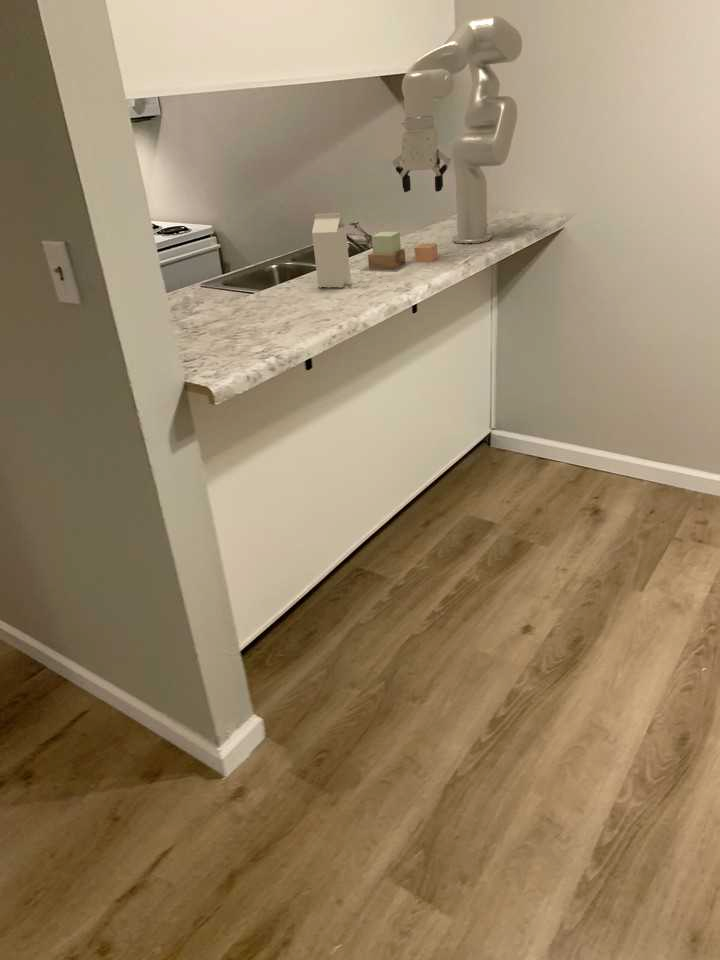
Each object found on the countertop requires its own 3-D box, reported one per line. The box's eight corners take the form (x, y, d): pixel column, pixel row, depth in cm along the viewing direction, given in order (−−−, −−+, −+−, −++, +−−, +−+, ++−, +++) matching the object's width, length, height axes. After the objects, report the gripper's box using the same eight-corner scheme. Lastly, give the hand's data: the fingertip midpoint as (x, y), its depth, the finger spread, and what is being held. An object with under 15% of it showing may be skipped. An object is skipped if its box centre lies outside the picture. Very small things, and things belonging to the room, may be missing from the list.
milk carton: (342, 288, 200) (335, 216, 190) (318, 288, 202) (309, 216, 193) (351, 281, 205) (344, 210, 196) (327, 281, 208) (319, 211, 198)
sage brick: (382, 249, 216) (381, 231, 213) (400, 249, 213) (399, 231, 211) (373, 254, 211) (371, 236, 209) (391, 254, 209) (390, 236, 206)
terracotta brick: (422, 260, 220) (421, 243, 217) (437, 261, 217) (437, 243, 215) (415, 264, 216) (414, 247, 213) (431, 265, 214) (430, 247, 211)
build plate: (378, 262, 222) (378, 260, 221) (414, 263, 216) (414, 261, 216) (360, 273, 213) (359, 270, 212) (397, 274, 207) (397, 271, 207)
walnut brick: (381, 262, 219) (380, 248, 217) (405, 262, 215) (404, 248, 213) (369, 268, 213) (367, 254, 211) (393, 269, 209) (392, 255, 207)
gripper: (384, 127, 200) (389, 194, 208) (443, 123, 192) (446, 192, 200) (396, 124, 205) (400, 189, 214) (454, 120, 197) (456, 188, 206)
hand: (422, 191), depth 207 cm, fingers open, 9 cm apart
